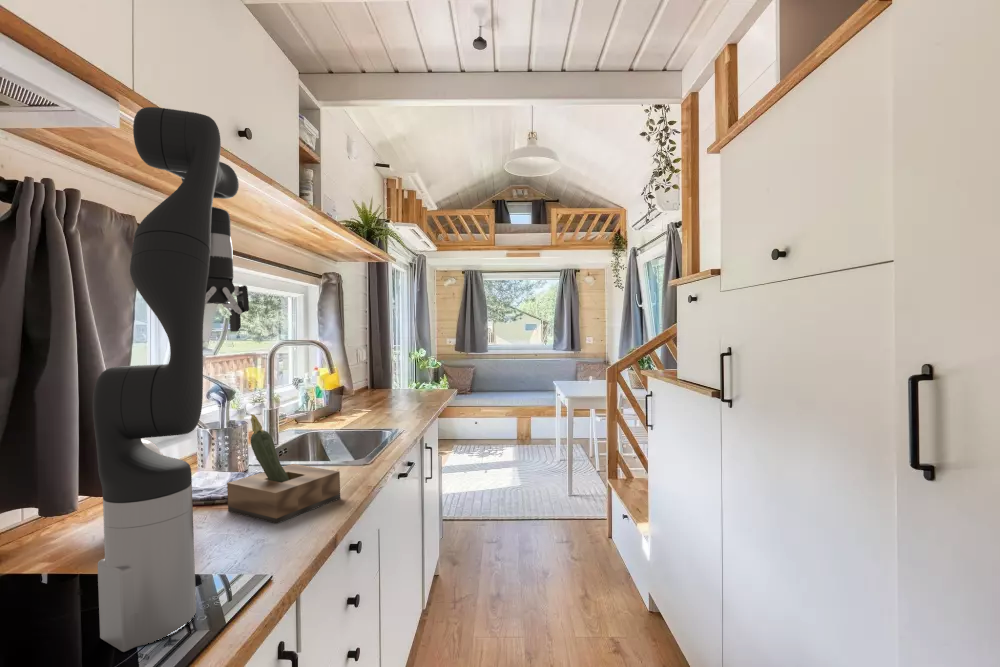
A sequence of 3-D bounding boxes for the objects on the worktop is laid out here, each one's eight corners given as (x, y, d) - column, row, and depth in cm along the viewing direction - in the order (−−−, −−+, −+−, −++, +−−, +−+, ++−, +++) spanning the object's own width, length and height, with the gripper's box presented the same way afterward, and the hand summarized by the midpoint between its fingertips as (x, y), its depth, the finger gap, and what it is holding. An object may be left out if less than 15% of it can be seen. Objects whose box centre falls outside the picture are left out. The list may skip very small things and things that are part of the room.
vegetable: (291, 500, 104) (254, 414, 102) (272, 507, 104) (235, 421, 102) (299, 491, 109) (264, 409, 106) (281, 497, 109) (245, 415, 106)
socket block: (276, 523, 96) (275, 493, 96) (228, 511, 104) (227, 482, 103) (340, 498, 109) (339, 471, 109) (293, 488, 117) (292, 463, 117)
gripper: (188, 250, 98) (191, 331, 98) (254, 259, 110) (256, 330, 111) (168, 254, 102) (171, 332, 102) (234, 262, 114) (236, 331, 114)
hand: (215, 331), depth 106 cm, fingers open, 8 cm apart
